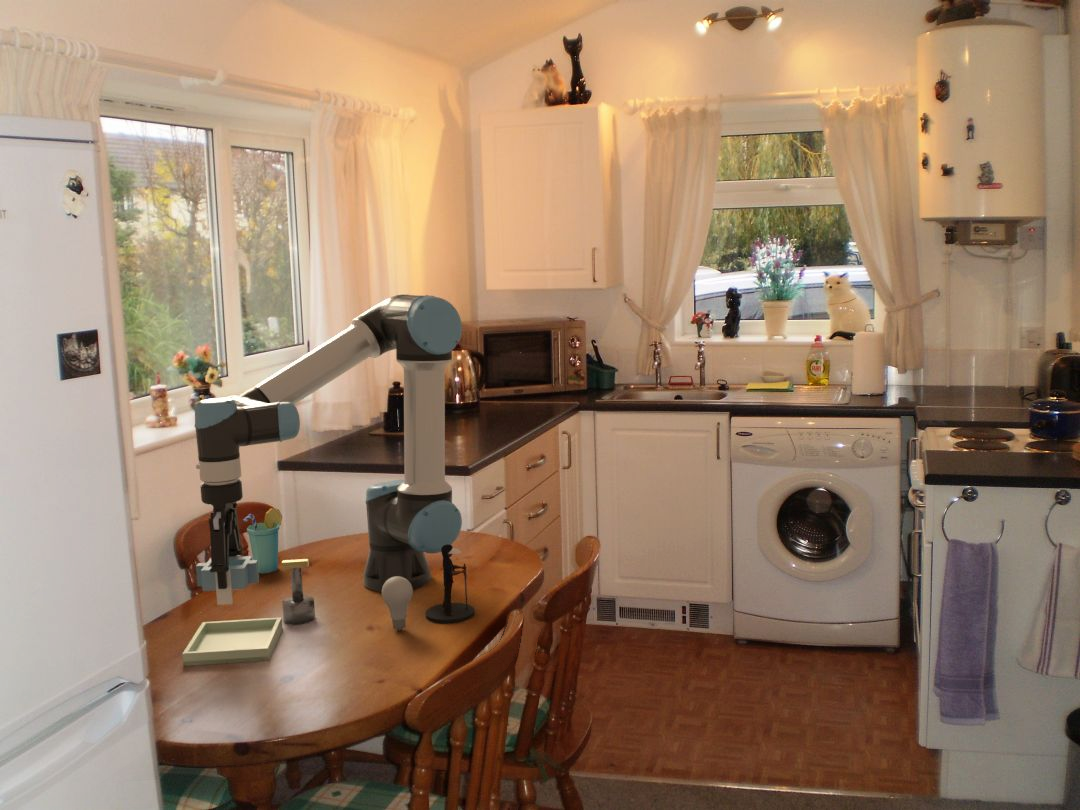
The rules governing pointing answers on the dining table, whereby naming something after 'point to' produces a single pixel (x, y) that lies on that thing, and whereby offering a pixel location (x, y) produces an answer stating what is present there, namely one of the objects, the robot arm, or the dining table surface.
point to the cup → (265, 540)
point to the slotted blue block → (240, 570)
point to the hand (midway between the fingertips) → (229, 596)
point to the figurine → (448, 610)
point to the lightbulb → (397, 599)
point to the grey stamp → (297, 596)
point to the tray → (233, 641)
